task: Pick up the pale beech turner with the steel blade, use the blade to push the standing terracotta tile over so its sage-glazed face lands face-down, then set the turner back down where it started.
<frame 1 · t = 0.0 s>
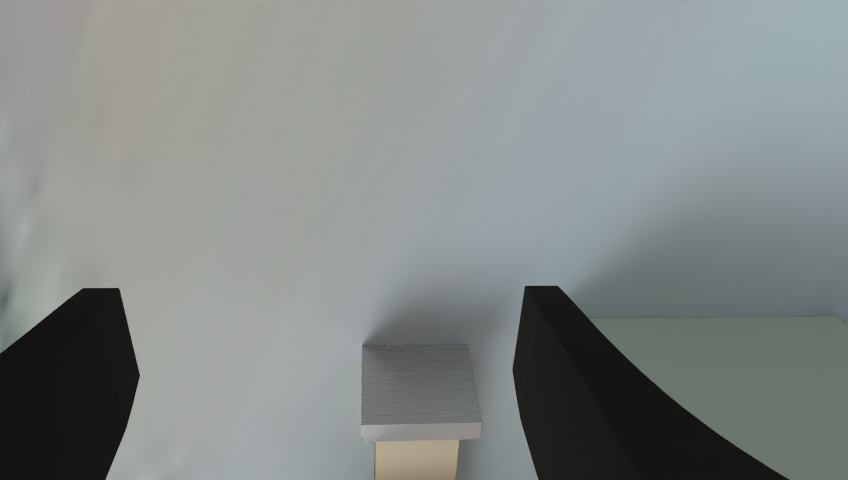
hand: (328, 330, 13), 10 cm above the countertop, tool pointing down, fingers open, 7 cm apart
tile: (683, 336, 27), on the countertop
turner: (409, 448, 29), on the countertop
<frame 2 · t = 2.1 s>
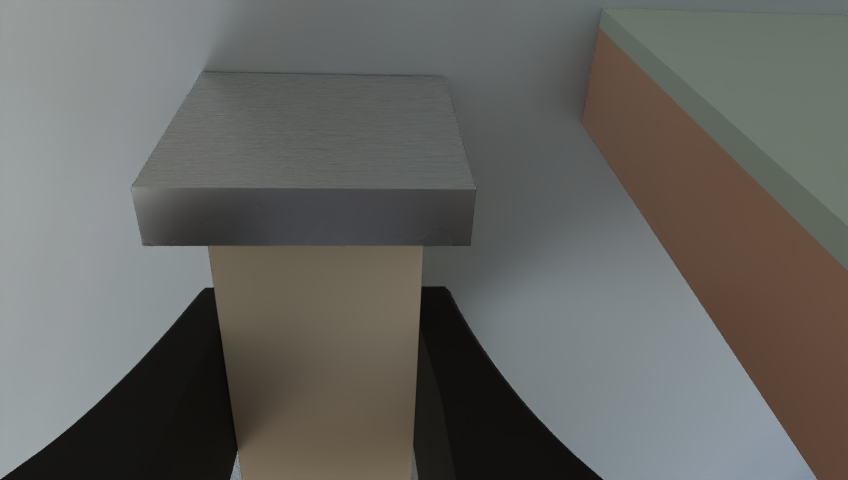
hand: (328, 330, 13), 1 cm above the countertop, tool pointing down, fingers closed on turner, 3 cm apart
turner: (333, 342, 15), on the countertop, touching gripper
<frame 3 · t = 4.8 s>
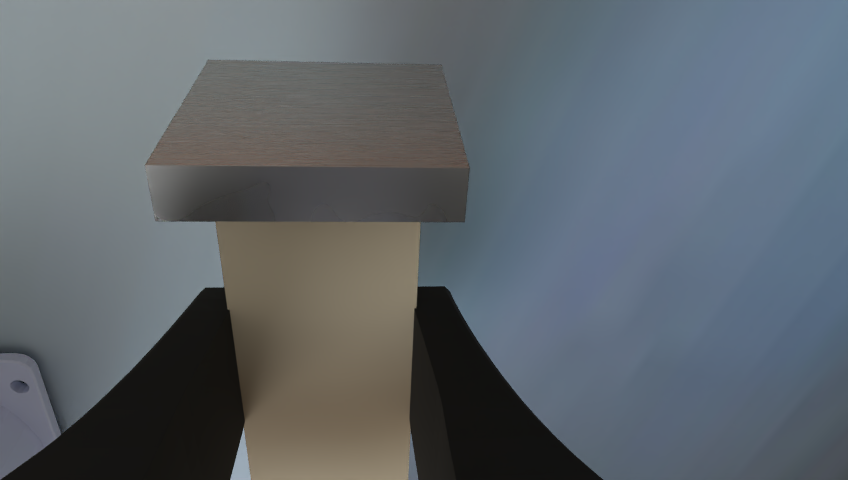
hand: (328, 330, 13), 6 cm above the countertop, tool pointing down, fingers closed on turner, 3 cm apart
turner: (334, 322, 15), point 4 cm above the countertop, touching gripper
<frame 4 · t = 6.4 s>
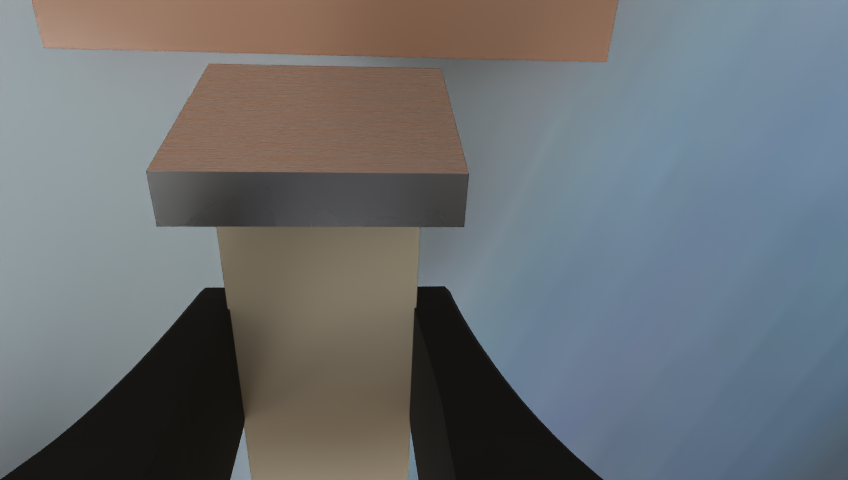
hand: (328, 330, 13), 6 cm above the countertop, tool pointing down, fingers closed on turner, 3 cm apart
tile: (336, 41, 16), on the countertop, tilted 90°
turner: (335, 324, 15), point 4 cm above the countertop, touching gripper
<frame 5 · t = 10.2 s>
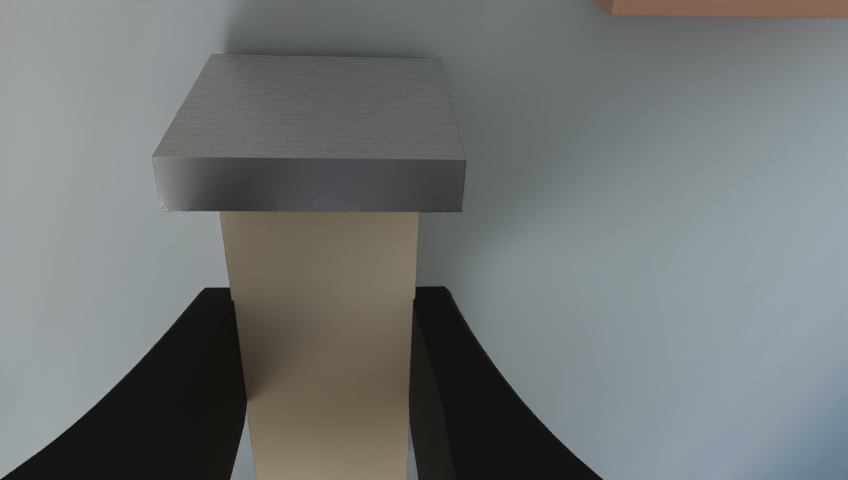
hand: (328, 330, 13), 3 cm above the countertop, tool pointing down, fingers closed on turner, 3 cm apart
turner: (335, 311, 15), on the countertop, touching gripper
when the fingers open (2 cm above the countertop, at t = 10.6 s): turner stays where it is, on the countertop.
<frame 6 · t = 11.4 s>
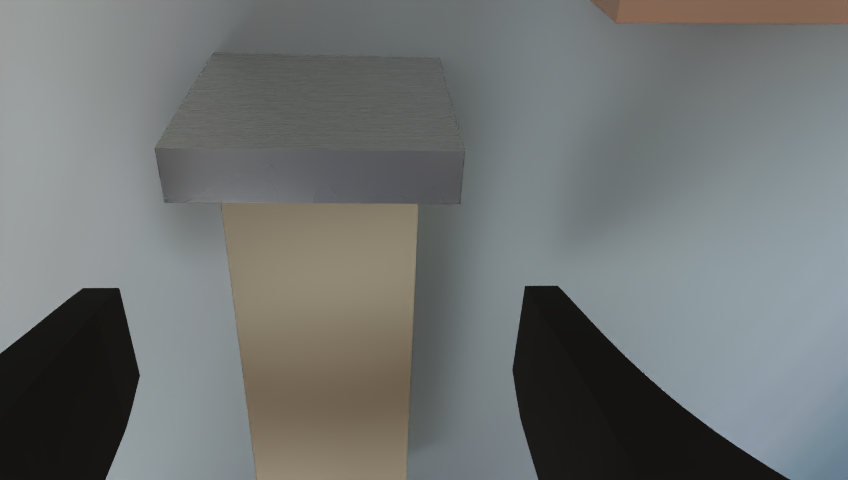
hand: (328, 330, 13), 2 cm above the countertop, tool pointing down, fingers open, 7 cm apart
turner: (335, 310, 15), on the countertop
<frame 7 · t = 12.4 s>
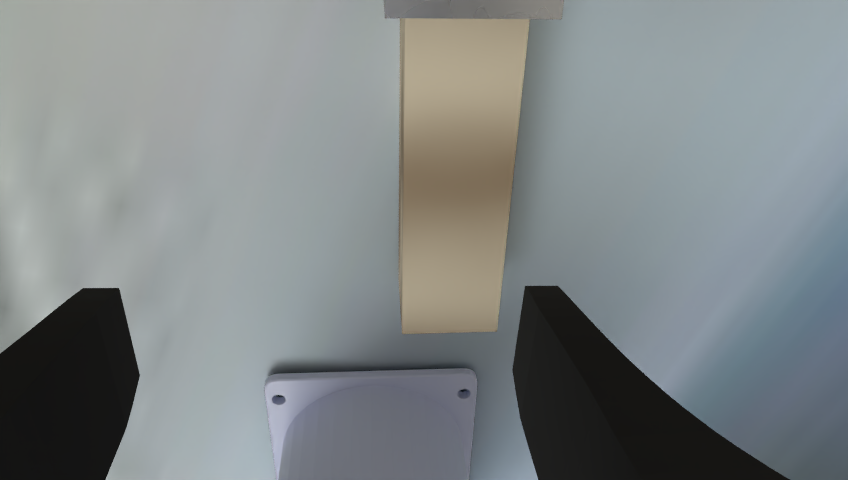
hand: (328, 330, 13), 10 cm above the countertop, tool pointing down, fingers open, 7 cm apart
turner: (447, 147, 22), on the countertop
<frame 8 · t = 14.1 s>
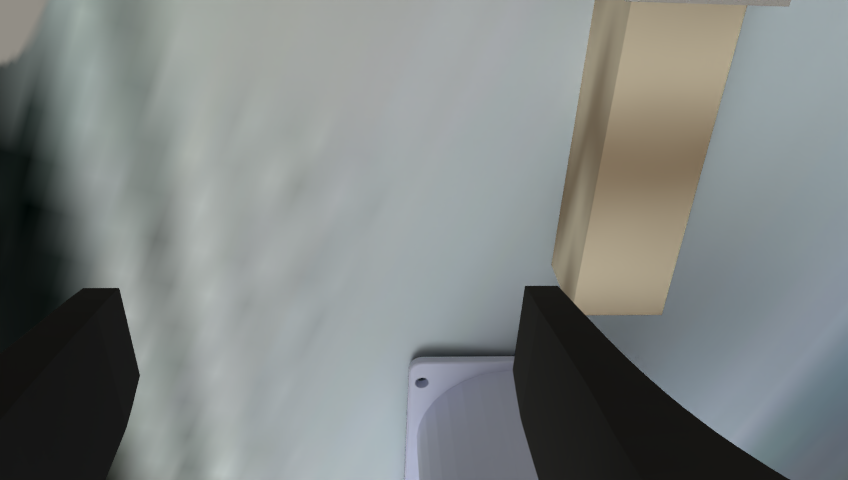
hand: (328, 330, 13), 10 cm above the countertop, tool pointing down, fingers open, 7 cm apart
turner: (617, 135, 22), on the countertop
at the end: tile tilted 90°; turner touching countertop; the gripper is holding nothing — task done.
